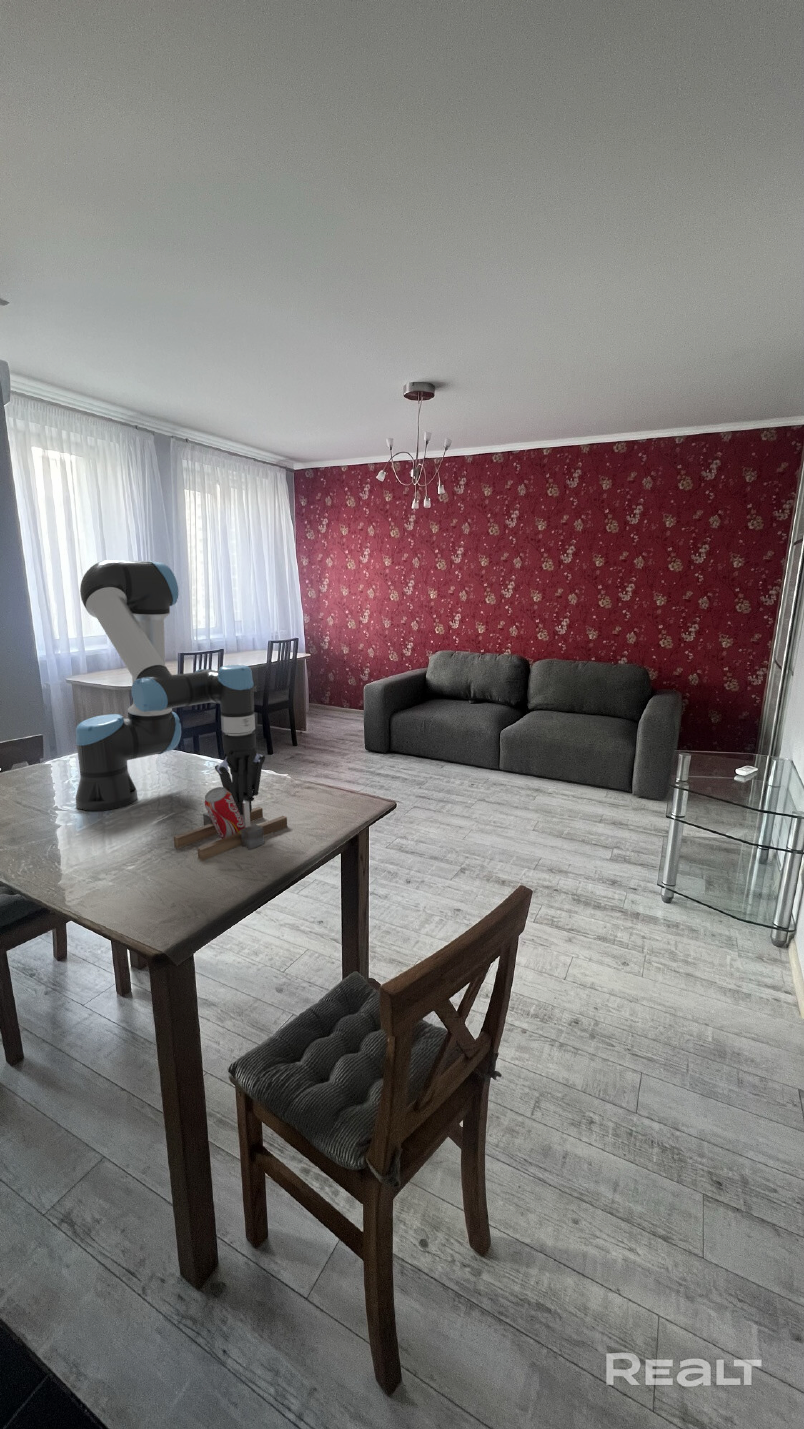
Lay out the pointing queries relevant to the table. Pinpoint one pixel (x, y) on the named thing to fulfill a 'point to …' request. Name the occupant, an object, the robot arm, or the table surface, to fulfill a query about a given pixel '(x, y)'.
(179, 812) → the table surface
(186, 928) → the table surface
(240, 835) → the wooden bars with blocks
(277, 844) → the table surface
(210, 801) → the beverage can
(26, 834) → the table surface
